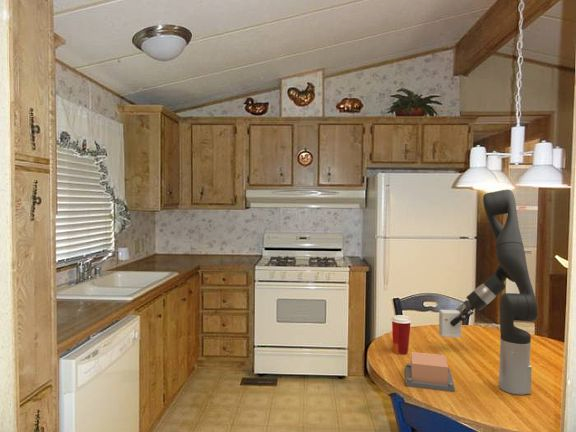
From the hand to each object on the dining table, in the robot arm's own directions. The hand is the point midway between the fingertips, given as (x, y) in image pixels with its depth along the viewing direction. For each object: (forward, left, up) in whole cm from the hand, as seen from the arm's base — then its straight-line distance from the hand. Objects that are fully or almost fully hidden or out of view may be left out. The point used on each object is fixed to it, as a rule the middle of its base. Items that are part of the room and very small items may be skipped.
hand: (450, 322), depth 187 cm
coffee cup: (+21, +8, -12) cm, 25 cm away
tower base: (+11, +34, -12) cm, 38 cm away
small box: (0, 0, -6) cm, 6 cm away
